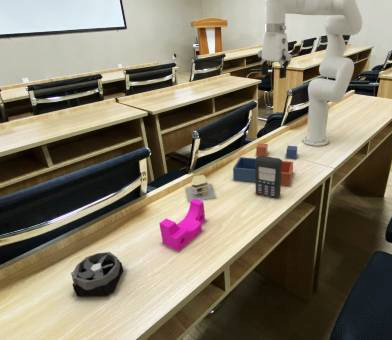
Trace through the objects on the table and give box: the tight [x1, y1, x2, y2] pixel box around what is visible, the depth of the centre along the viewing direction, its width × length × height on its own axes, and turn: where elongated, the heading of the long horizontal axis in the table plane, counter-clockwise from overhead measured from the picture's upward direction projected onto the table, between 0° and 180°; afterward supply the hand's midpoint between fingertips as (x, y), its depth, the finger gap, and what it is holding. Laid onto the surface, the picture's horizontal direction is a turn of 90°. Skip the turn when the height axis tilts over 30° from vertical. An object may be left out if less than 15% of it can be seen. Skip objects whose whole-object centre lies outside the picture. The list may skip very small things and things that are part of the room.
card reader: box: [254, 155, 283, 199], centre depth 110 cm, size 9×4×15 cm, turn 68°
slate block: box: [285, 145, 298, 160], centre depth 142 cm, size 4×4×4 cm
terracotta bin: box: [281, 160, 294, 187], centre depth 123 cm, size 11×11×6 cm
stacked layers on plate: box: [186, 174, 215, 203], centre depth 115 cm, size 10×9×6 cm
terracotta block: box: [255, 142, 269, 157], centre depth 145 cm, size 4×4×4 cm
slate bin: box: [232, 156, 256, 184], centre depth 126 cm, size 11×11×6 cm
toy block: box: [158, 199, 206, 252], centre depth 93 cm, size 15×6×8 cm, turn 147°
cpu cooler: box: [70, 251, 124, 298], centre depth 77 cm, size 10×6×10 cm
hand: (273, 76), depth 122 cm, fingers open, 9 cm apart
